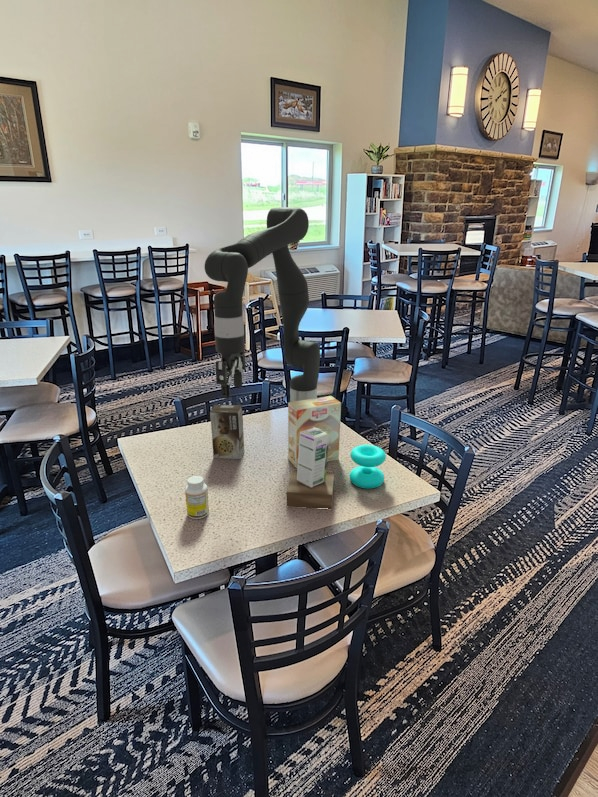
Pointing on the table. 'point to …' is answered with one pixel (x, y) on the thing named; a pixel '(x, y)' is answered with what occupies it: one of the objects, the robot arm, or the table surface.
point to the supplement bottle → (196, 498)
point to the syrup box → (312, 456)
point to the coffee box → (227, 431)
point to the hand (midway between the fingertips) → (232, 392)
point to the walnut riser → (310, 493)
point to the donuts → (367, 466)
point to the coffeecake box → (314, 423)
